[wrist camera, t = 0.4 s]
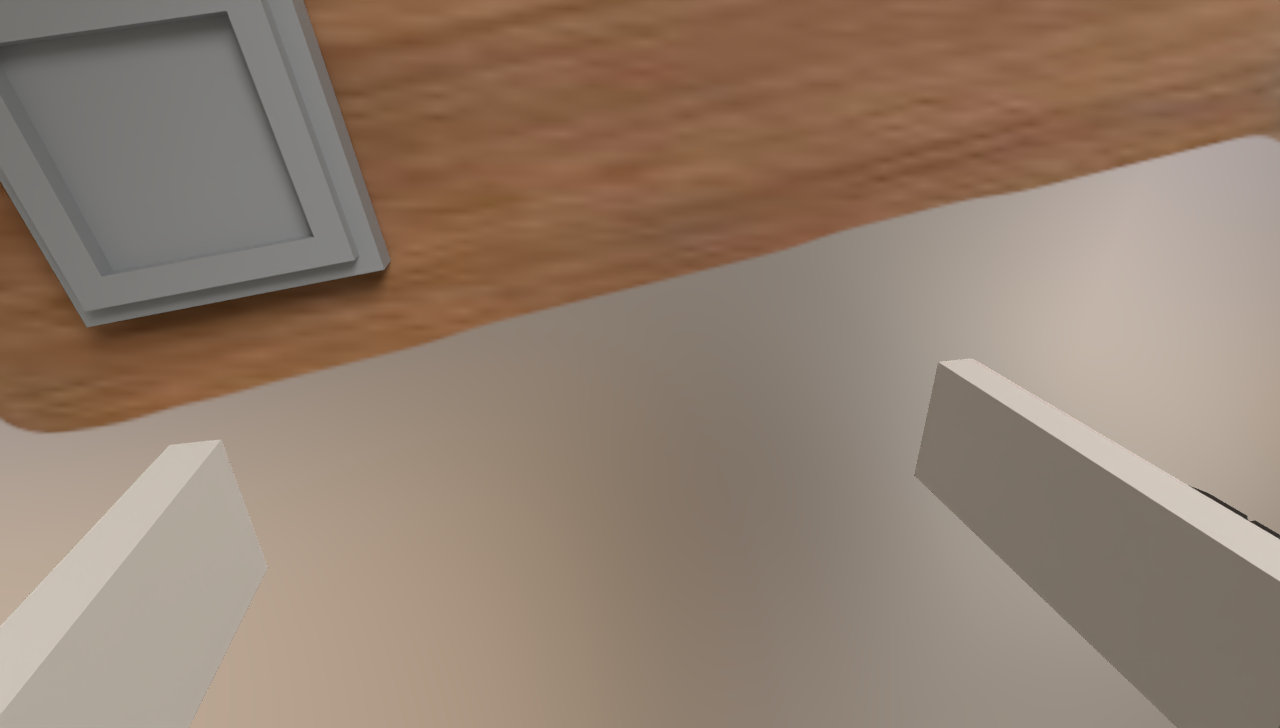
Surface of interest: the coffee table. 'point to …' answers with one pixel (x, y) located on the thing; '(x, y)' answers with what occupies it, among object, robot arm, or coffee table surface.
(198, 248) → the slate plinth
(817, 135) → the coffee table surface
